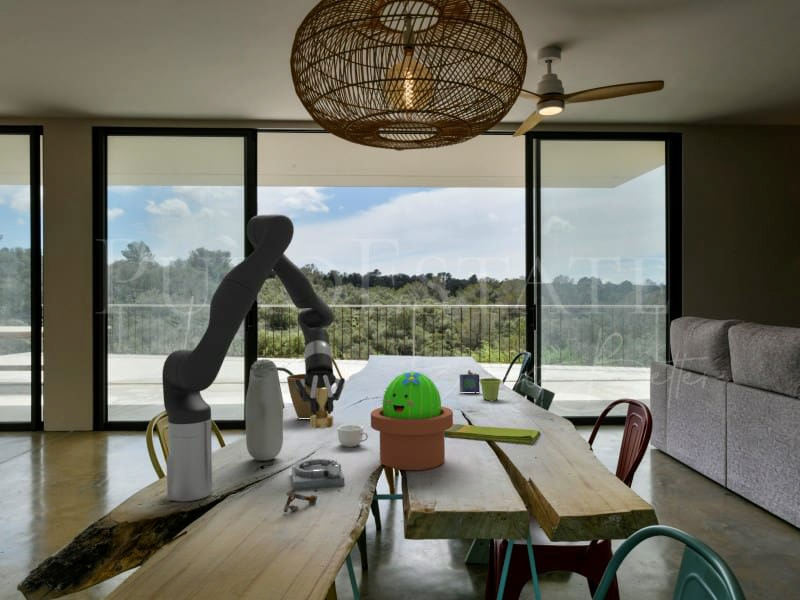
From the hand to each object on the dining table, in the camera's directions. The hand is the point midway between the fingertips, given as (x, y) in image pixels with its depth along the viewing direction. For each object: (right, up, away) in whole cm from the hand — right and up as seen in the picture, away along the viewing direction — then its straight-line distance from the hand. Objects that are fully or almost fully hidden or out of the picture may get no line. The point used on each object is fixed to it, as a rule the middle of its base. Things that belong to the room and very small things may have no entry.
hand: (322, 412), depth 140 cm
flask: (+53, -15, +114) cm, 126 cm away
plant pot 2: (+59, -15, +97) cm, 115 cm away
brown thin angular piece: (-1, -16, -24) cm, 29 cm away
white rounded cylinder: (-18, -16, +12) cm, 26 cm away
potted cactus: (+23, -15, +8) cm, 29 cm away
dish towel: (+46, -16, +37) cm, 62 cm away
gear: (0, -4, +2) cm, 5 cm away
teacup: (+6, -16, +25) cm, 30 cm away
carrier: (0, -15, -6) cm, 17 cm away
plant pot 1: (-15, -16, +65) cm, 68 cm away
